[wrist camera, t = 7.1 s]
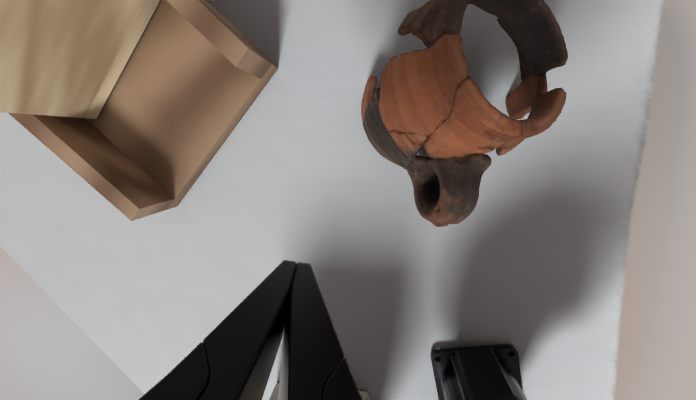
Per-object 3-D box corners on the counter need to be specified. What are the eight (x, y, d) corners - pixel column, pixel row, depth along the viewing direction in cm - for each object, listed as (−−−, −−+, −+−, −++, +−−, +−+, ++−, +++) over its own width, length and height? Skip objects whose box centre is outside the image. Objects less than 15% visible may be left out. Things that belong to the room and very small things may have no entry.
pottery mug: (347, 49, 17) (417, -86, 9) (459, 68, 20) (583, -22, 12) (354, 226, 17) (434, 240, 9) (467, 218, 20) (600, 223, 12)
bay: (278, 68, 18) (226, 33, 12) (177, 205, 21) (99, 231, 15) (74, -130, 16) (-94, -275, 11) (5, 52, 20) (-148, 17, 14)
